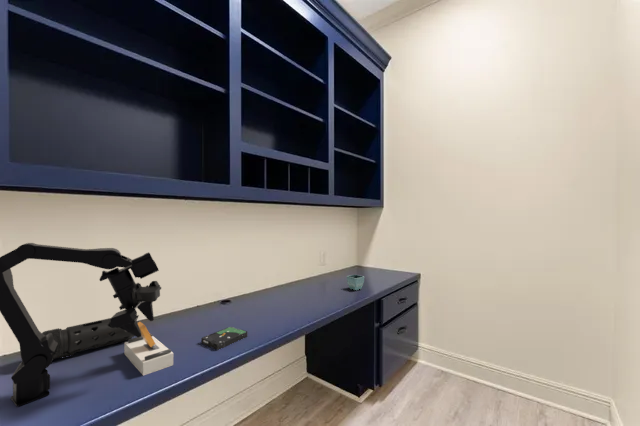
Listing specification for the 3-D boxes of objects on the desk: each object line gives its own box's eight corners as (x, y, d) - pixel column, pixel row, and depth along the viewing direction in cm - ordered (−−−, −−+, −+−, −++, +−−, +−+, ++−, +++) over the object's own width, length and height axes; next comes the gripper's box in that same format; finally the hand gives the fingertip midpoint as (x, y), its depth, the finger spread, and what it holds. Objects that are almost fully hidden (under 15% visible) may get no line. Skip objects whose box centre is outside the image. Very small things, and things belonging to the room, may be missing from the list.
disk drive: (218, 352, 110) (248, 337, 122) (218, 344, 110) (248, 330, 122) (200, 344, 115) (230, 331, 128) (200, 337, 115) (230, 325, 128)
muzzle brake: (136, 342, 115) (136, 316, 115) (37, 370, 94) (37, 337, 94) (128, 335, 122) (129, 310, 122) (33, 360, 101) (34, 329, 101)
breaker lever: (152, 350, 101) (140, 328, 98) (146, 344, 105) (134, 324, 102) (157, 346, 102) (145, 325, 99) (151, 341, 106) (139, 320, 103)
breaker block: (143, 375, 92) (143, 359, 92) (124, 354, 106) (124, 339, 106) (173, 365, 99) (173, 349, 99) (152, 345, 112) (152, 332, 112)
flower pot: (355, 292, 194) (356, 278, 194) (346, 289, 201) (346, 275, 201) (364, 289, 200) (364, 276, 200) (354, 287, 207) (355, 274, 207)
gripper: (136, 290, 84) (159, 336, 87) (161, 266, 102) (180, 305, 106) (96, 304, 83) (122, 350, 87) (129, 277, 101) (149, 316, 105)
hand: (146, 328), depth 96 cm, fingers open, 9 cm apart
